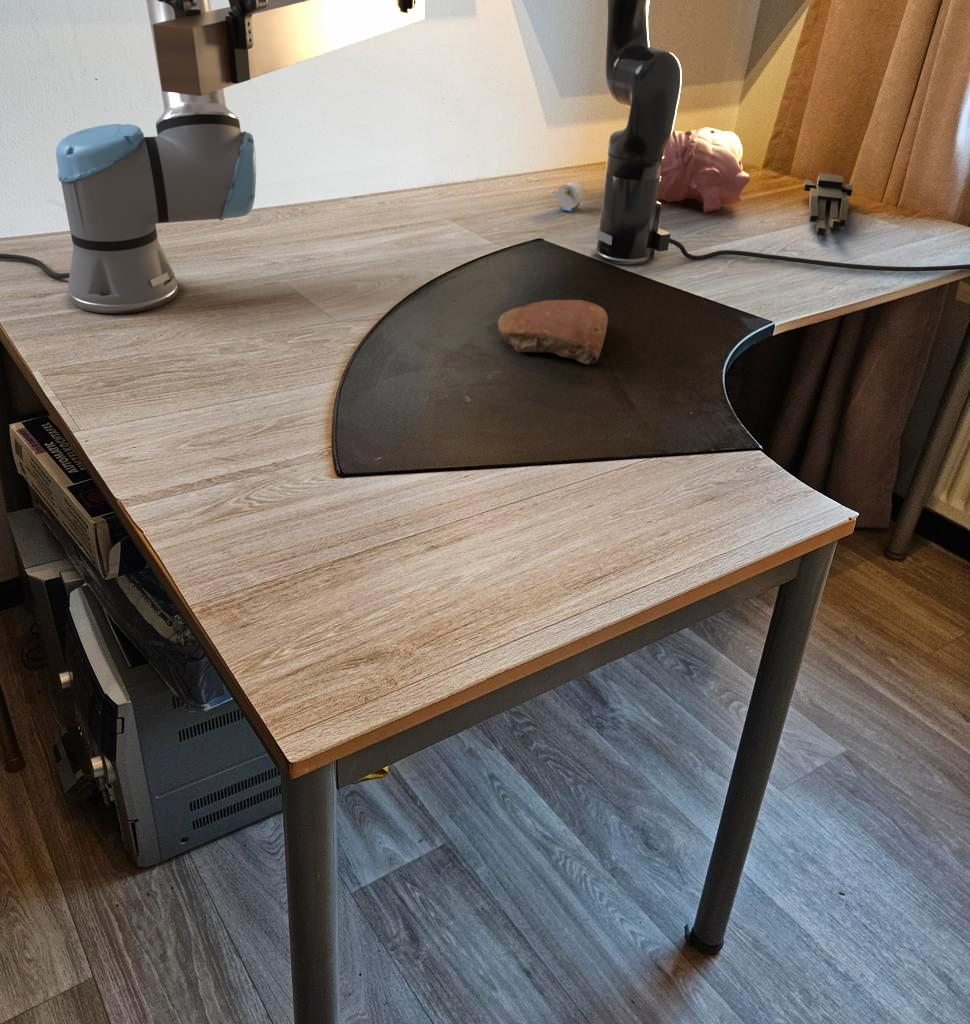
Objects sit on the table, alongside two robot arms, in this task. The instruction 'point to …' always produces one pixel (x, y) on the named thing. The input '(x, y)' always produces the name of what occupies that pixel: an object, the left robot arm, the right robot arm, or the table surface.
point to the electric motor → (570, 196)
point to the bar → (268, 38)
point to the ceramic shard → (557, 328)
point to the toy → (828, 201)
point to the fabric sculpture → (703, 168)
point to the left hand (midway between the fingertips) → (219, 78)
